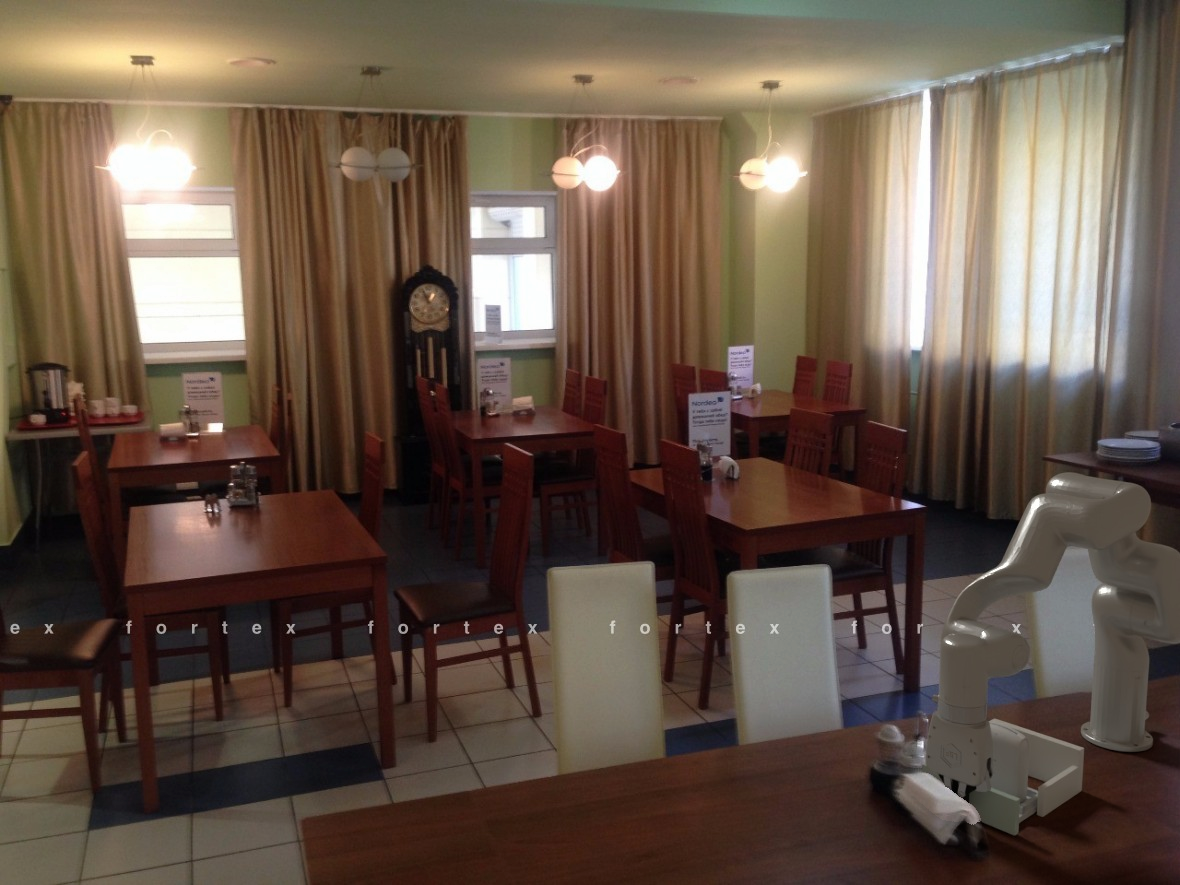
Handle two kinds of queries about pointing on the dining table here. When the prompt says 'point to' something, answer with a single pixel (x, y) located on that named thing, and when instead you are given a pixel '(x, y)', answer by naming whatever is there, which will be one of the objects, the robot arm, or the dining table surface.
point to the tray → (1000, 807)
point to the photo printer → (1009, 761)
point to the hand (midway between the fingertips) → (957, 814)
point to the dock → (1052, 768)
